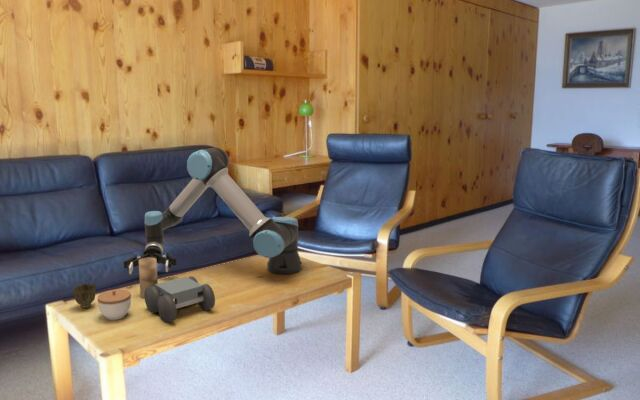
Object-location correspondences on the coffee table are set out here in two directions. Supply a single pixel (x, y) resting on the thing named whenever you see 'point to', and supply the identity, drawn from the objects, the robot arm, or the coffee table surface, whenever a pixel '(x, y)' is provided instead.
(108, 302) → the lidded jar
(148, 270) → the tan wooden cylinder
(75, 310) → the coffee table surface
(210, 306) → the trolley
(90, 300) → the dark brown textured bowl
